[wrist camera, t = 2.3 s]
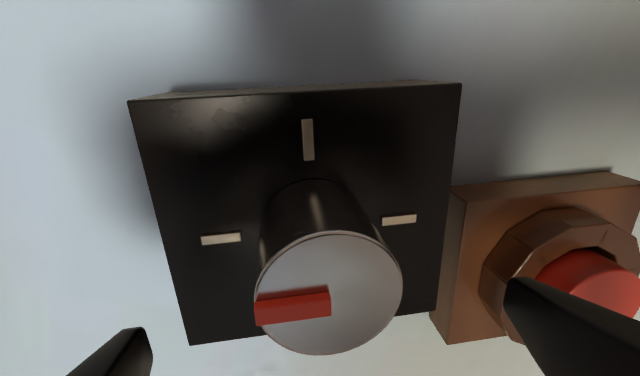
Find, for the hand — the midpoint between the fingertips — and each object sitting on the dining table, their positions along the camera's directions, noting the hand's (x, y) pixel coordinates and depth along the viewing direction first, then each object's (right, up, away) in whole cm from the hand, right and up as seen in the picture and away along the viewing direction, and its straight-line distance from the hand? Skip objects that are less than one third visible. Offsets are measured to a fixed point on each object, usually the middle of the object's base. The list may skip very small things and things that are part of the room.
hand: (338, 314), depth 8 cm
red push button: (+12, -2, +8) cm, 14 cm away
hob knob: (-1, +2, +4) cm, 5 cm away
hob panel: (-1, +3, +8) cm, 9 cm away
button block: (+11, -1, +11) cm, 16 cm away
